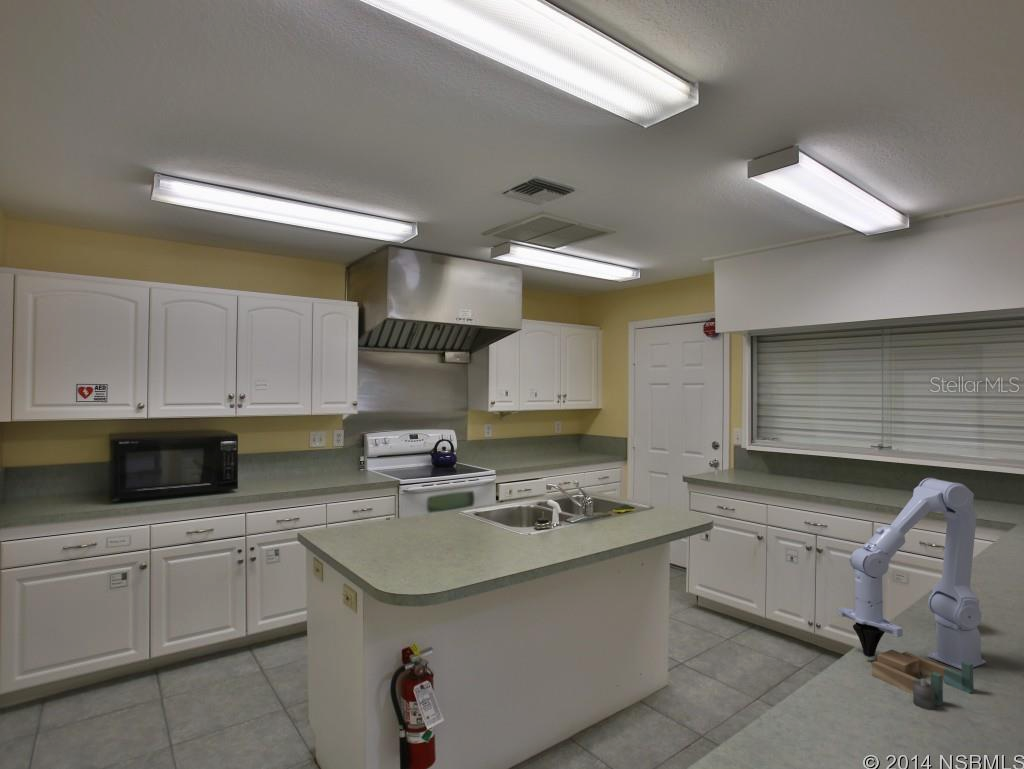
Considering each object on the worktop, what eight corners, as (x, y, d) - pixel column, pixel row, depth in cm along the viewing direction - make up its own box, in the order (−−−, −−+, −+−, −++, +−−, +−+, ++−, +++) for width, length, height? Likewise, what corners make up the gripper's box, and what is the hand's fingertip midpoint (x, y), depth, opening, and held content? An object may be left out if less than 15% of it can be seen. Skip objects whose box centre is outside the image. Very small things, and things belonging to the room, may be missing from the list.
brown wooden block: (892, 666, 136) (891, 649, 136) (919, 677, 131) (919, 659, 131) (877, 671, 133) (877, 654, 133) (904, 683, 128) (904, 665, 128)
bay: (906, 664, 136) (905, 639, 137) (975, 692, 123) (974, 664, 124) (859, 679, 129) (859, 652, 129) (928, 711, 116) (927, 681, 116)
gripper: (830, 592, 143) (830, 646, 143) (888, 612, 130) (889, 671, 130) (848, 588, 146) (849, 641, 146) (907, 607, 133) (908, 665, 133)
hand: (869, 655), depth 138 cm, fingers closed
